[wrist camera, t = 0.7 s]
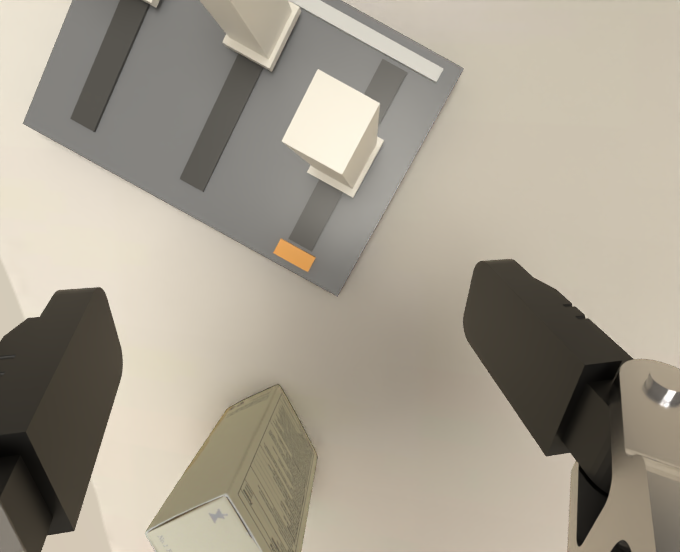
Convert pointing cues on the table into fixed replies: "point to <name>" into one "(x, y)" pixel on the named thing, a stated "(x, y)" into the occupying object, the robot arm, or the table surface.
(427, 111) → the board
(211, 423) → the table surface
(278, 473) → the skincare box
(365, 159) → the post
